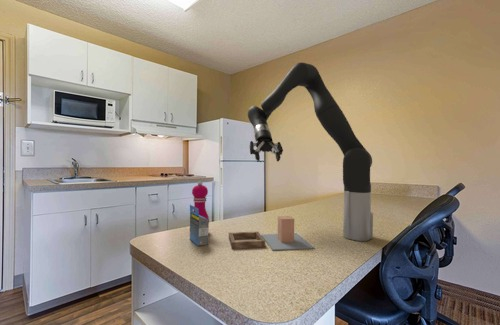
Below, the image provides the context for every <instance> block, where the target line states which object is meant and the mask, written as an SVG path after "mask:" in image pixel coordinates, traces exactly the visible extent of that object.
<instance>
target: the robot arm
mask: <svg viewBox="0 0 500 325" xmlns="http://www.w3.org/2000/svg"><path fill="white" fill-rule="evenodd" d="M297 87H303V88H304V89H305V90H306V91H307V92H308V93H309V95H310V97H311V99H312V101H313V107H314V113H315V115H316V118H317V120H318V121H319V123H320V125H321V126H322V128H323V129H324V131H326V133H327V134H328V136H330V138H332V140H334V142H335V143H336V144H337V147H339V149H340V151H341V152H342V155H343V159H342V160H343V161H342V183H343V229H342V230H343V233H342V234H343V237H344V238H346V239H347V240H348V239H349V240H352V241H357V242H360V241H361V242H366V241H370V240H373V239H374V238H373V237H374V236H373V235H374V234H373V232H374V213H373V212H372V208H371V205H372V204H371V202H372V201H371V200H372V198H371V197H372V184H371V167H372V165H373V157H372V155H371V154H370V152H369V151H368V150H367V149H366V148H365V146H363V144H362V143H361V142H360V140H359V139H358V138H357V137H356V136H357V135H355V132H354V131H353V128H352V126H351V124H350V122H349V121H348V119H347V117H346V115H345V113H344V112H343V111H342V109H341V107H340V106H339V104H338V103H337V101H336V100H335V99H334V98H335V97H333V96H332V93H330V91H329V90H328V88H327V86H326V85H325V83H324V80H323V79H322V76H321V74H320V72H319V70H318V68H317V67H315V65H313V64H311V63H306V62H297V63H295V64H294V66H292V68H290V70H289V71H288V73H287V74H286V75H285V76H284V78H283V79H282V80H281V82H280V83H279V84H278V85H277V86H276V88H275V89H274V90H273V91H272V92H271V93H270V94H269V95H268V96H267V97H266V98H264V100H262V101H261V103H260V107H261V108H260V107H259V106H257V105H251V107H249V109H248V111H247V117H248V121H249V122H250V124H251V125H252V126H253V135H254V140H255V142H253V141H249V142H250V143H249V153H250V155H254V158H255V160H256V161H257V162H260V159H261V157H260V153H261V152H263V153H264V152H267V153H271V154H274V155H275V160H276V162H279V161H281V156H282V155H283V152H284V149H283V146H282V144H281V142H280V141H278V142H277V143H276V142H275V143H274V140H273V138H272V134H271V130H270V127H269V124H268V122H267V120H268V119H269V118H270V116H271V115H272V113H273V112H274V111H276V109H278V108H279V107H280V106H281V105H282V104H283V102H284V101H285V100H286V97H287V95H288V94H289V93H290V92H291V91H292V90H294V89H296V88H297ZM255 148H256V149H255Z"/></svg>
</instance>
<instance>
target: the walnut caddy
mask: <svg viewBox="0 0 500 325" xmlns="http://www.w3.org/2000/svg"><path fill="white" fill-rule="evenodd" d="M239 239H245V240H239ZM246 239H253V240H246ZM228 241H229V245H230V247H231V250H233V249H235V250H236V249H253V248H255V249H257V248H266V241H265V240H264V239H263V237H262V236H261V233H260V232H259V231H238V232H236V231H235V232H228Z"/></svg>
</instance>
